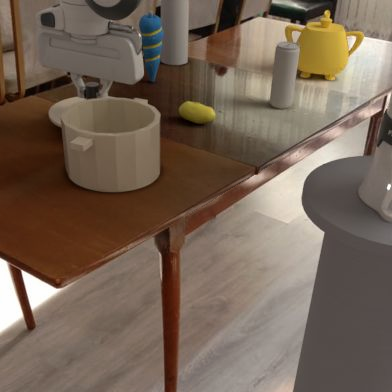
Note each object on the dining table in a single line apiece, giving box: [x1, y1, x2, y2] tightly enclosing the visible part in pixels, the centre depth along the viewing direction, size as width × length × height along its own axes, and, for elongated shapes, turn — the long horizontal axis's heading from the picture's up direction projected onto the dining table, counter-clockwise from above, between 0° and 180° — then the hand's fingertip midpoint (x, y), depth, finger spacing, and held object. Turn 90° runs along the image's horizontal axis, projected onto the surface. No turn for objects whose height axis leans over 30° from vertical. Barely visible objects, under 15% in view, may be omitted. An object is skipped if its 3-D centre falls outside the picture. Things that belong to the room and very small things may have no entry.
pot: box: [60, 96, 162, 193], centre depth 104 cm, size 16×21×9 cm
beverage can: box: [269, 40, 300, 110], centre depth 128 cm, size 5×5×12 cm
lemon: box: [178, 100, 216, 125], centre depth 123 cm, size 4×8×4 cm, turn 56°
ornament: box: [138, 7, 164, 83], centre depth 135 cm, size 5×5×15 cm
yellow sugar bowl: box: [284, 9, 365, 81], centre depth 145 cm, size 14×14×12 cm
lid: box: [48, 81, 117, 128], centre depth 117 cm, size 17×17×6 cm
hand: (92, 99), depth 117 cm, fingers closed on lid, 2 cm apart
